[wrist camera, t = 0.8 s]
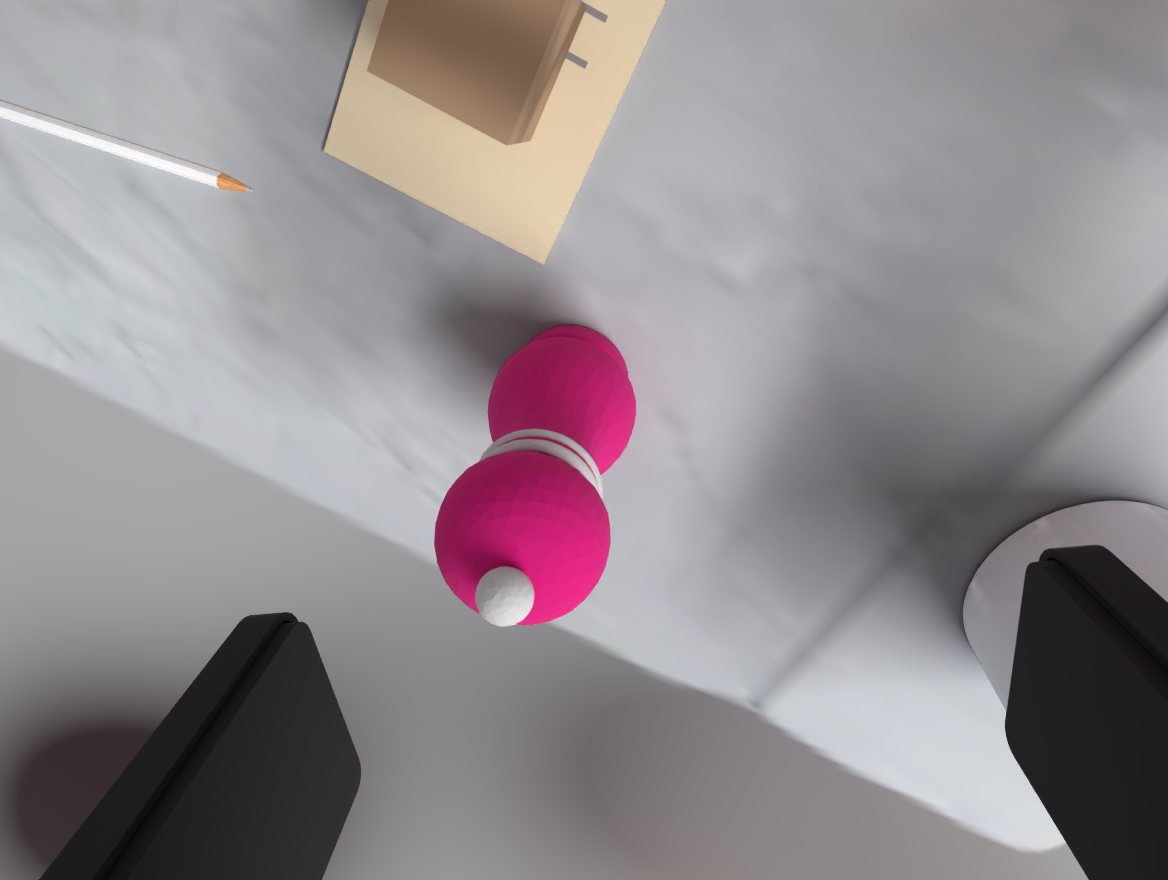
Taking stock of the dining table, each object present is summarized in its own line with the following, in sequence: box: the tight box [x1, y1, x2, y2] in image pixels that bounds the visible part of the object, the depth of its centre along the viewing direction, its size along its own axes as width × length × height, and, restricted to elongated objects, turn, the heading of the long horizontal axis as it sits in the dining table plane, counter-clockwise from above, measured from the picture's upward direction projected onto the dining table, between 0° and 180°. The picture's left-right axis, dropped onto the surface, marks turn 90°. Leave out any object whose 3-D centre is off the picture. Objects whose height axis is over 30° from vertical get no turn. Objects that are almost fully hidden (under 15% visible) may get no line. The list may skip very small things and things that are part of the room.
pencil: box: [0, 101, 253, 191], centre depth 35 cm, size 1×19×1 cm, turn 73°
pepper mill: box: [434, 325, 636, 626], centre depth 29 cm, size 7×7×20 cm
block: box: [367, 0, 586, 146], centre depth 29 cm, size 6×6×6 cm
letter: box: [324, 0, 666, 265], centre depth 32 cm, size 16×12×1 cm
